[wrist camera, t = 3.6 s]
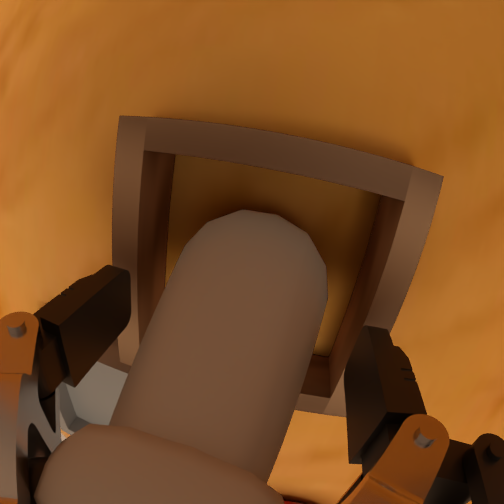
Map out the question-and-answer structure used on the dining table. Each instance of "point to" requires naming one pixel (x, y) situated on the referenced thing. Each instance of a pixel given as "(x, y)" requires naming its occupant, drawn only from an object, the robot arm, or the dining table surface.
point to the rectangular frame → (281, 159)
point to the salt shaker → (207, 376)
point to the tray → (93, 393)
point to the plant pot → (289, 503)
